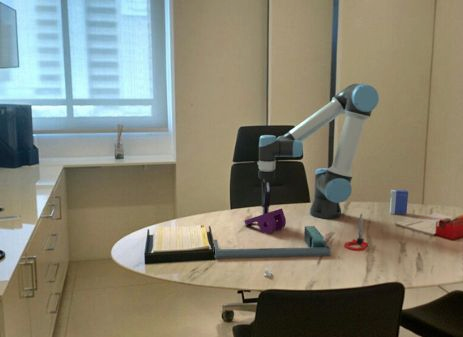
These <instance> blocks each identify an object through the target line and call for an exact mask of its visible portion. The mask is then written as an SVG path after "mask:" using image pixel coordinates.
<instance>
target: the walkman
mask: <svg viewBox="0 0 463 337" xmlns="http://www.w3.org/2000/svg"><path fill="white" fill-rule="evenodd" d="M408 199H409V191H408V190H406V189H401V190H400V189H391V190H390V200H389V201H390V202H389V214H390V215H407V212H408V210H407V209H408V201H409V200H408Z"/></svg>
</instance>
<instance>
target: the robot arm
mask: <svg viewBox="0 0 463 337" xmlns="http://www.w3.org/2000/svg"><path fill="white" fill-rule="evenodd" d="M379 99H380V96H379V92H378V90H377V89H376V88H375V87H374V86H372V85H370V84H366V83H353V84H349V85H348V86H346V87H345V88H344V89H343V90H340V91H339V92H338V93H337V94H336V95H334V96H333V97H332V98H331V101H329V103H326V104H325V105H324V106H322V107H321V108H320V109H319V110H317V111H316V112H314V113H312V114H311V115H309V117H307V118H306V119H304V120H303V121H302V122H300V123H299V124H297V125H296V126H295V127H293V128H291V129H290V130H289V131H288V132H286V133H285V134H284V135H280V136H278V137H277V136H276V135H272V134H270V135H269V134H264V135H263V134H262V135H260V137H259V142H258V162H257V163H256V164H257V166H258V169H259V170H258V172H257V173H258V174H257V175H258V176H257V177H258V179H260V180H262V181H260V182H261V183H260V184H261V209H262V210H261V211H262V212H261V213H262V214H265V213H268V212H270V206H271V203H270V202H271V193H272V182H271V180H274V179H275V177H276V171H275V170H276V157H277V158H283V157H284V158H297V157H298V158H300V157H302V155H303V152H304V151H303V150H304V145H303V142H304V141H305V140H306V139H308V138H309V137H310V136H312V135H313V134H315V133H316V132H318V131H319V130H320V129H322V128H323V127H325V126H326V125H327V124H329V123H330V122H332V121H333V120H335V119H336V118H337V117H339V116H340V115H346V116H345V119H344V123H343V127H342V130H341V134H340V136H339V141H338V144H337V147H336V150H335V154H334V157H333V161H332V164H331V166H330V167H326V168H325V167H324V168H322V167H321V168H317V169H316V170H315V174H314V176H315V177H314V196H313V197H314V199H313V201H312V204H311V206H310V208H309V209H310V210H309V215H310V216H312V217H314V218H315V217H316V218H321V219H337V218H340V217H341V216H342V209H341V203H344V202H345V201H347V200H348V199H349V198H350V197H351V195H352V192H353V191H352V184H351V182H352V179H353V174H352V172H351V170H352V167H353V164H354V160H355V157H356V154H357V150H358V147H359V143H360V140H361V136H362V133H363V130H364V126H365V122H366V121H367V120H368V119H370V118H371V115H372V112H373V110H375V109H376V107H377V106H378V104H379V102H380V100H379ZM262 214H261V215H262Z"/></svg>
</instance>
